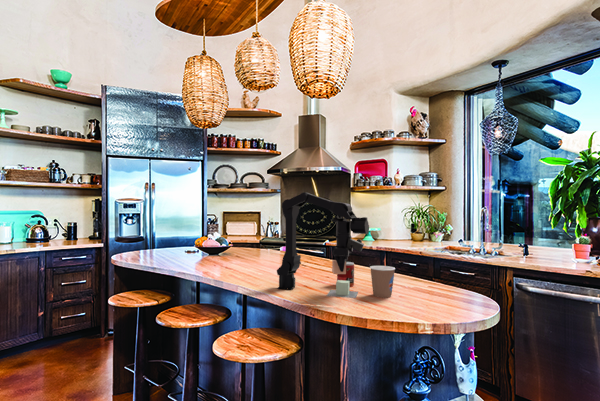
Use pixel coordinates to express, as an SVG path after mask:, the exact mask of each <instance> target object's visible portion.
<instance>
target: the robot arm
mask: <svg viewBox="0 0 600 401" xmlns="http://www.w3.org/2000/svg"><path fill="white" fill-rule="evenodd" d="M307 203H308V204H311V205H314V206H317V207H320V208H324V209H326V210H327V211H330V212H331V213H333V215H336V216H335V217H334V218H333V219H332V220H331V222H333V223H336V234H335V238H336V239H335V240H336V242H335V244H336V245H335V248H333V249H332V256H334V260H336V261H337V264H338V266H339V269H340V271H341V272H343V271H344V266H345V261H346V263H347V262H348V259H349V258H348V257H350V256H351V254H352V252H354V251H353V250H356V251H357V252H362V250H363V248H364V246H365V244H364V243H363V241H362V239H360V238H357V240H356V239H353V238H352V235H351V232H352V233H353V234H355V235H356V234H359V235H367V234H369V231H370V225H369V220H368V217H366V216H365V217H357V216H356V214H355V213H354V211H353V207H352V205H351V204H350V203H348V202H347V203H346V202H341V201H333V200H329V199H327V198H324V197H320V196H317V195H315V194H311V193H309V192H307V191H306V192H301V193H299V194H297V195H295V196H293V197H291V198H290V199H284V200H283V201H282V202H281V209H282V215H283V217H284V219H285V251H284V254H283V256H282V260H281V265H280V266H279V267H278V268H277V270H276V274H277V276H278V277H279V278H278V286H277V289H278V290H291V291H292V290H293V289H294V288H296V277H295V274H296V273H297V270H298V269H299V268H300V267H301V266H300V265H301V264H302V263H301V262H302V261H301V258H302V255H301V254H298V252H297V218H298V215H300V214H299V213H300V208H301V207H304V206H305V204H307Z"/></svg>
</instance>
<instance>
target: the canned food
mask: <svg viewBox="0 0 600 401" xmlns="http://www.w3.org/2000/svg"><path fill="white" fill-rule="evenodd" d="M338 280H343V281H350V287H349V288H352V287H354V286H355V263H354V262H353V261H352V262H351V261H347V263H346V274H336V282H337V281H338Z"/></svg>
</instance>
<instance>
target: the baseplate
mask: <svg viewBox="0 0 600 401" xmlns="http://www.w3.org/2000/svg"><path fill="white" fill-rule="evenodd" d="M358 295H359V291H354V290H349V295H336V289H330V290H329V291H328V293H327V294H326V297H332V298H333V297H334V298H346V299H347V298H348V299H349V298H351V299H357V296H358Z"/></svg>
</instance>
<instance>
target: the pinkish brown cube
mask: <svg viewBox="0 0 600 401" xmlns="http://www.w3.org/2000/svg"><path fill="white" fill-rule="evenodd" d="M331 264H332V266H331V267H332V268H331V269H332V270H331V272H332V273H333V275H337V274H346V261H345V266H344V271H343V272H341V271H340V269H339V266H338V264H337V261H336V259H332V263H331Z"/></svg>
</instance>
